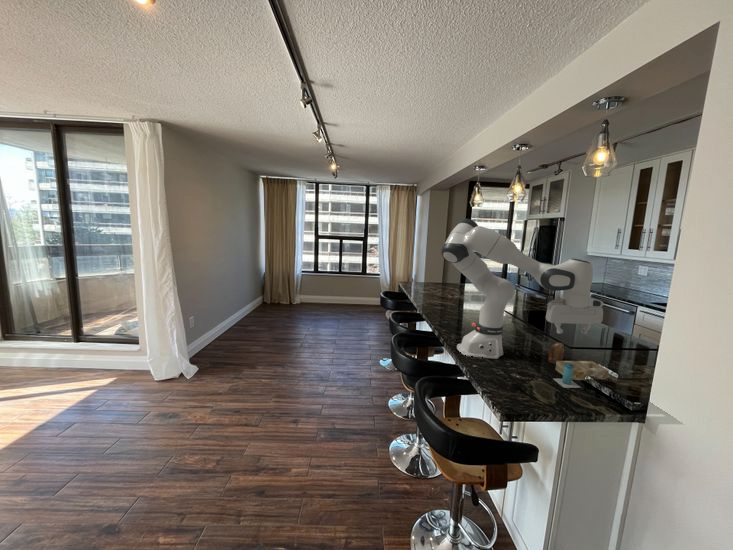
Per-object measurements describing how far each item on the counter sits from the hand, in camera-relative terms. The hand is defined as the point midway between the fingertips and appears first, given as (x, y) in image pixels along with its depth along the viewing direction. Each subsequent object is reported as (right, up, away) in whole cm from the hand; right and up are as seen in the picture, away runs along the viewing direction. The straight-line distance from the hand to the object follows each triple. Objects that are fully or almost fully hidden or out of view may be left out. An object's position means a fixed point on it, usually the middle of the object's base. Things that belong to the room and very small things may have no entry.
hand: (571, 333), depth 120 cm
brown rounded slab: (+8, -18, +24) cm, 31 cm away
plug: (-1, -20, +1) cm, 20 cm away
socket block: (+10, -20, +9) cm, 24 cm away
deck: (-1, -21, +1) cm, 21 cm away
